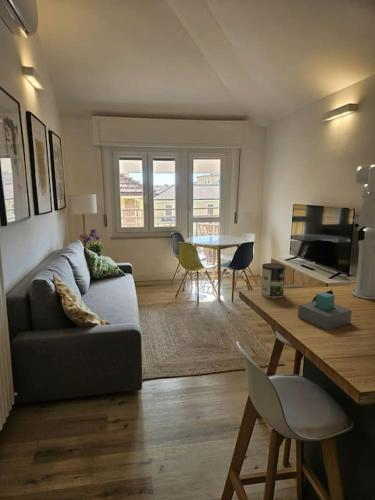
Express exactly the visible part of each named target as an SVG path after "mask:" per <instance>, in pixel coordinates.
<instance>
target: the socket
mask: <svg viewBox="0 0 375 500" xmlns="http://www.w3.org/2000/svg"><path fill="white" fill-rule="evenodd" d="M297 307H298V308H297V309H298V310H297V318H299V319H301V320H303V321H306V322H307V323H310V324H312V325H314V326H316V327H319V328H321V329H323V330H325V331H328V330H332V329H335V328H338V327H342V326H345V325H348V324H351V321H352V313H353V312H352V310H351V309H349V308H347V307H345V306H344V307H343V306H341V305H339V304H336V303H334V309H333V310H330V311H323V310H321V309H318V308H316V301H314V302H312V301H310V302H306V303H300V304H298V306H297Z"/></svg>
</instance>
